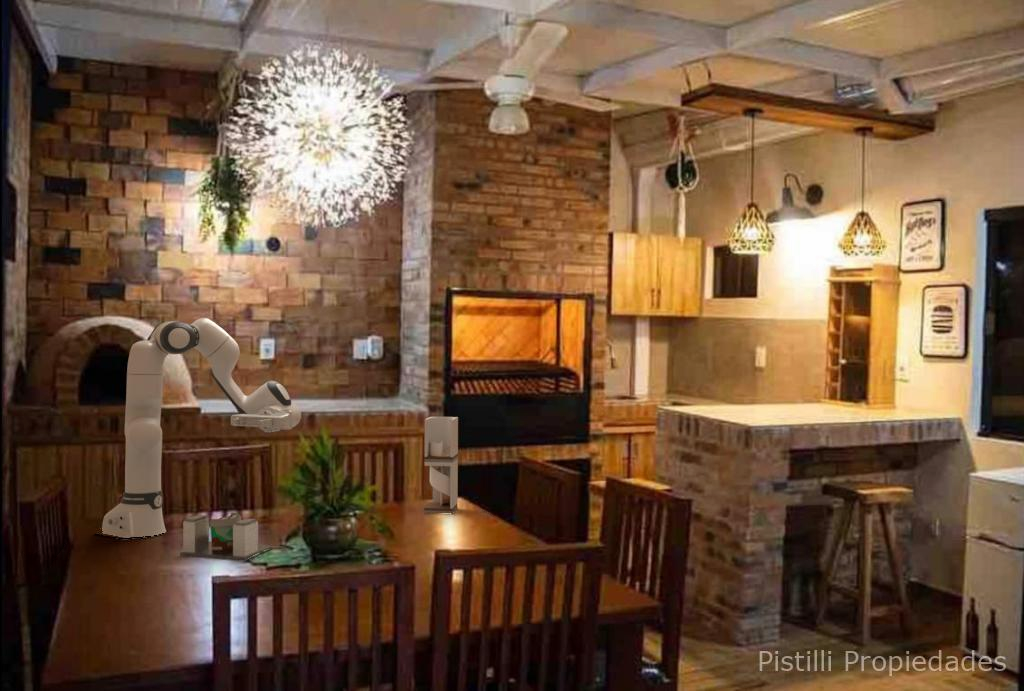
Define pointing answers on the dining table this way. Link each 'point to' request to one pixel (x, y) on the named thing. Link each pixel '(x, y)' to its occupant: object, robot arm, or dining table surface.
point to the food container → (223, 532)
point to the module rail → (201, 547)
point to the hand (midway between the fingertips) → (247, 422)
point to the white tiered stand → (442, 463)
